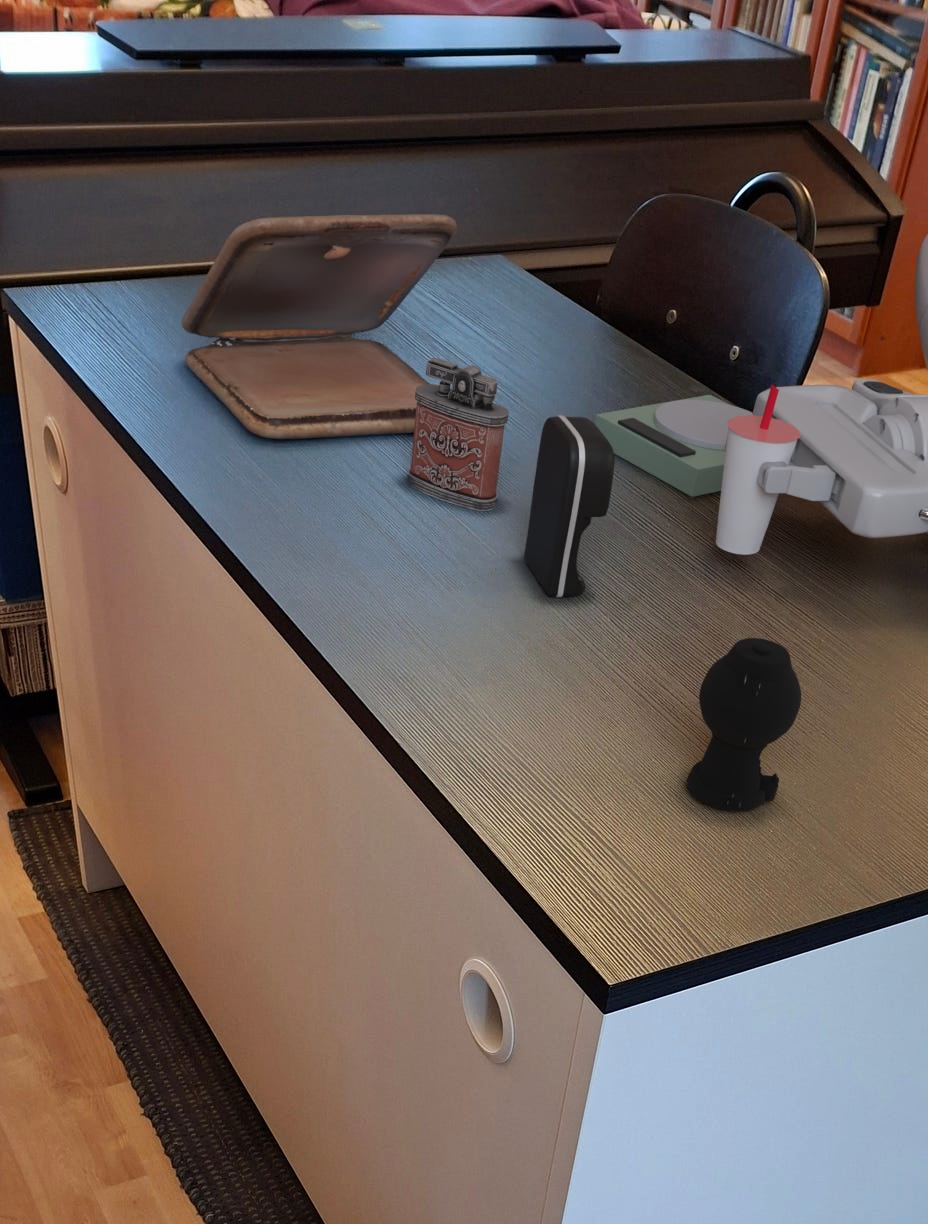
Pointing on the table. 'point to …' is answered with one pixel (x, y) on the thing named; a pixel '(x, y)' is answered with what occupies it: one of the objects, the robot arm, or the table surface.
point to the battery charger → (566, 499)
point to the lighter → (457, 436)
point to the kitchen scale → (674, 440)
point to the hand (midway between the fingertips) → (745, 460)
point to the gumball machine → (744, 723)
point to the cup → (751, 477)
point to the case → (313, 322)
